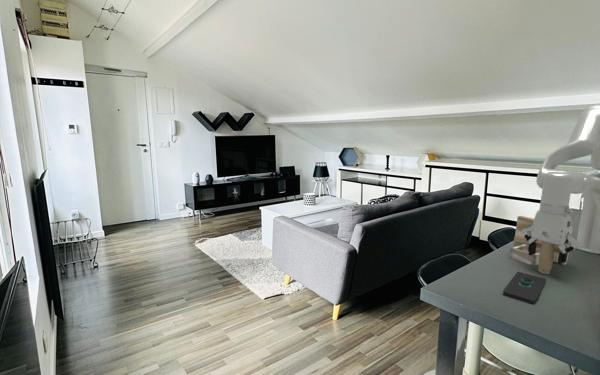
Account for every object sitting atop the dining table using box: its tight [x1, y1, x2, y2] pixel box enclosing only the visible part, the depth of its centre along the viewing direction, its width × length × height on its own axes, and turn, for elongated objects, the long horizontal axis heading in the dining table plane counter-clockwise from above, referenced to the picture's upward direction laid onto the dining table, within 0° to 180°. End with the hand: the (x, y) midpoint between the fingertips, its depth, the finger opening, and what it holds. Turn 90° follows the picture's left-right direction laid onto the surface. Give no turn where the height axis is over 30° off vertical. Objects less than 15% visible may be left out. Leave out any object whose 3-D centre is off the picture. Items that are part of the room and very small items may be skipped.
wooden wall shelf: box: [509, 215, 574, 267], centre depth 126 cm, size 13×18×14 cm
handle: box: [537, 231, 555, 275], centre depth 113 cm, size 5×6×15 cm
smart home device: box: [502, 271, 547, 305], centre depth 103 cm, size 8×2×20 cm
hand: (545, 258), depth 113 cm, fingers open, 8 cm apart
